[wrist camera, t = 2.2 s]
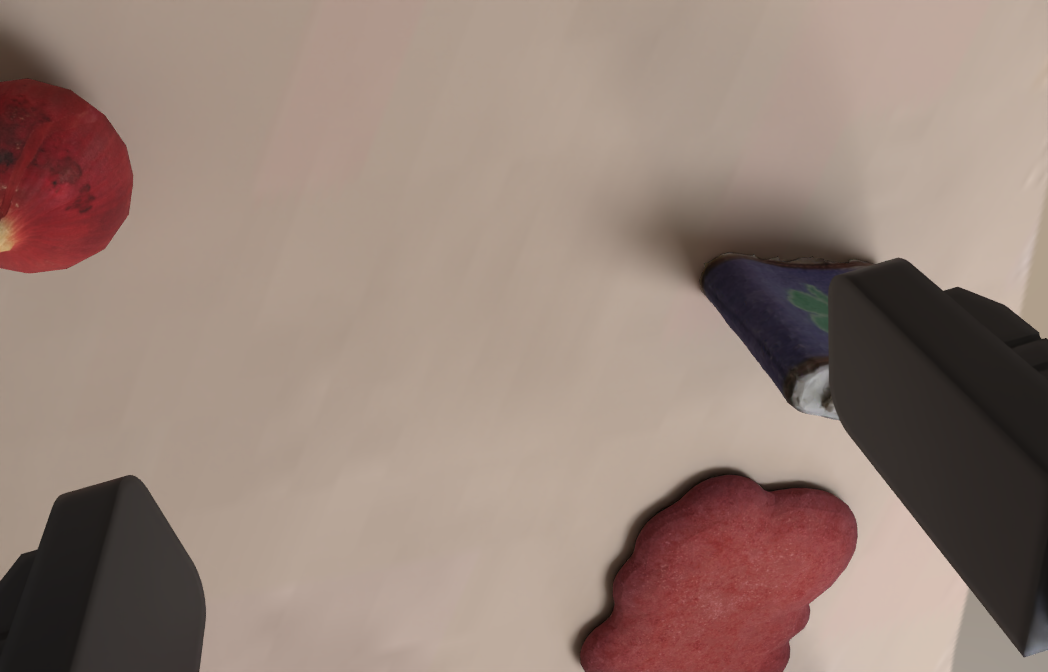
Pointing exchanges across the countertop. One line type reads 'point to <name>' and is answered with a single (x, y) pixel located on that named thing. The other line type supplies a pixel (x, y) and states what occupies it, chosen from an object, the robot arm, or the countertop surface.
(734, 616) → the patty
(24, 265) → the onion
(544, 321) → the countertop surface
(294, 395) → the countertop surface
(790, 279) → the flask
